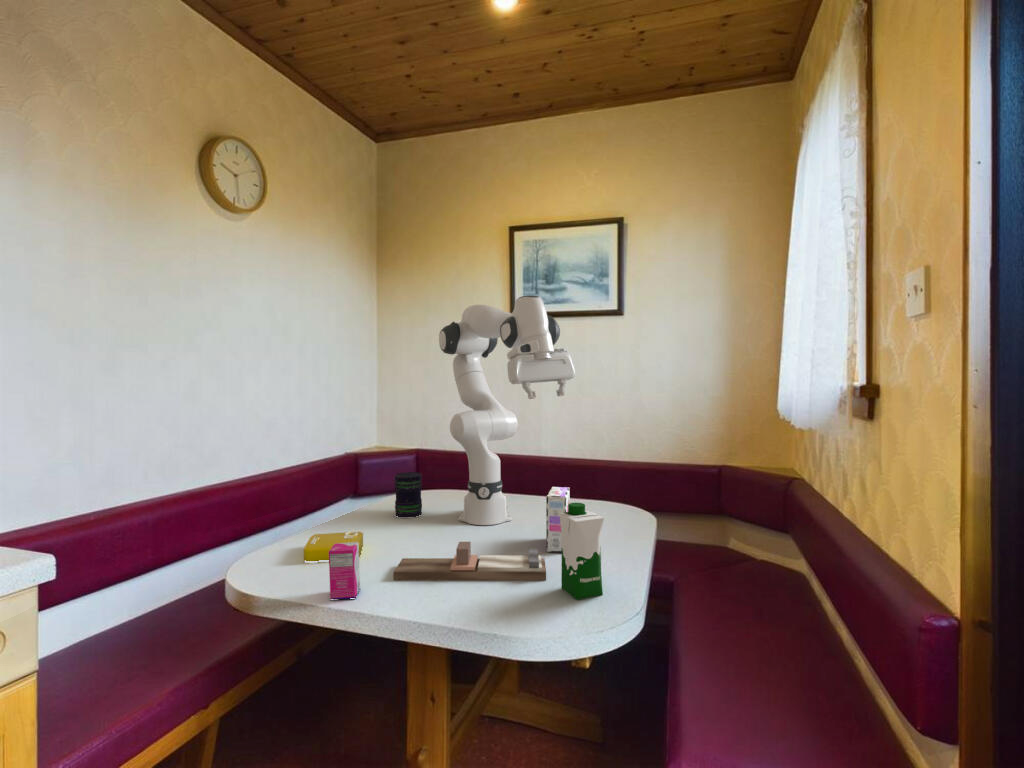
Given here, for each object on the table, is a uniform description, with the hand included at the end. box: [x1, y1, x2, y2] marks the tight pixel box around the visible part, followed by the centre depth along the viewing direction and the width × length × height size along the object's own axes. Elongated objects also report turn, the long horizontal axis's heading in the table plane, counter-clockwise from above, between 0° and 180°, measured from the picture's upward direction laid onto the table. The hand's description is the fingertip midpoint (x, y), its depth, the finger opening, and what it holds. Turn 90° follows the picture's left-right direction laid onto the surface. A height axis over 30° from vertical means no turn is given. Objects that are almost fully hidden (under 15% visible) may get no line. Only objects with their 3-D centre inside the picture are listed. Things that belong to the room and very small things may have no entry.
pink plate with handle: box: [451, 541, 479, 570], centre depth 134 cm, size 9×6×5 cm, turn 179°
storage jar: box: [394, 471, 423, 518], centre depth 193 cm, size 10×10×15 cm
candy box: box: [545, 486, 571, 554], centre depth 156 cm, size 14×6×16 cm, turn 168°
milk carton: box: [559, 502, 605, 601], centre depth 122 cm, size 9×9×20 cm
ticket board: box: [392, 548, 547, 581], centre depth 134 cm, size 10×38×5 cm, turn 89°
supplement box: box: [328, 542, 361, 599], centre depth 121 cm, size 6×6×12 cm
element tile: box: [303, 531, 364, 561], centre depth 150 cm, size 15×15×5 cm
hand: (546, 397), depth 145 cm, fingers open, 8 cm apart
